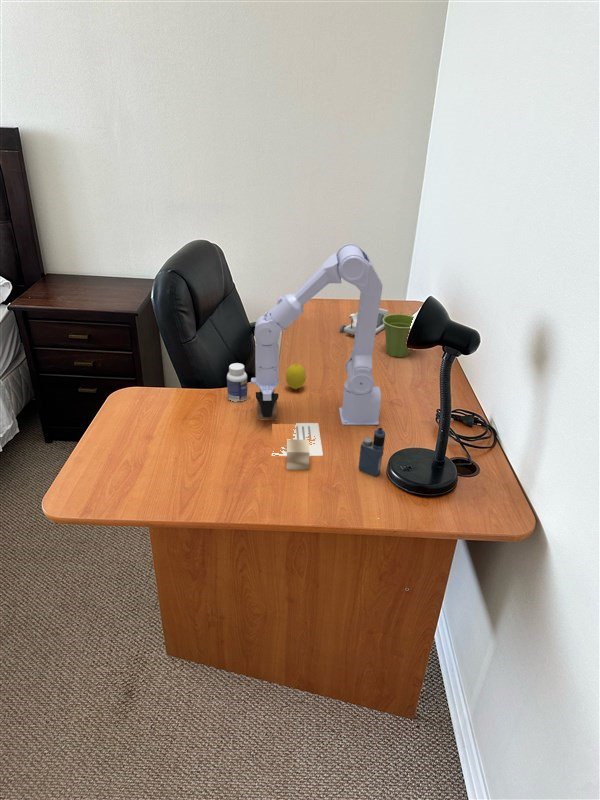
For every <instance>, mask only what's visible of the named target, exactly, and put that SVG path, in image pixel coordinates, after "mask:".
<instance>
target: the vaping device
mask: <svg viewBox="0 0 600 800" xmlns="http://www.w3.org/2000/svg"><path fill="white" fill-rule="evenodd" d="M385 439H386V431H385V430H384V428H382V427H378V428H377V429H376V430H374V433H373V438H371V437H364V438H363V441H362V442H361V444H360V448H359V449H360V450H359V460H358V461H359V462H358V469H359V471H360V472H362V473H364V474H366V475H369V476H372V477H375V478H376V477H378V476H379V475H380V473H381V467H382V460H383V459H382V458H383V455H384V450H385V441H386V440H385Z"/></svg>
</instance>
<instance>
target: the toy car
mask: <svg viewBox="0 0 600 800" xmlns="http://www.w3.org/2000/svg"><path fill="white" fill-rule="evenodd" d="M357 315H358V312H356V313H352V314H350V315H349V317H348V318H349V319H351V320H350V321H351V322H350V324H349V325H345V324H342V325H341V326H340V328H339V333H340V334H343V333H347V334H351V335H354V336H355V330H356V323H357ZM387 315H389V310H387V309H384V308H381V307H379V314H378V320H377V327H376V333H375V335H377V334H378V333H379V332H381V331H382V330H385V328H384V322H383V317H385V316H387Z"/></svg>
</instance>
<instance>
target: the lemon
mask: <svg viewBox="0 0 600 800" xmlns="http://www.w3.org/2000/svg"><path fill="white" fill-rule="evenodd" d="M306 376H307V374H306V371H305V368H304V367H303V366H302V365H300V364H298V363H293V364H291V365H289V367H288V368H287V370H286V373H285V379H286V383H287V385H288V387H290V388H292V389H294V390H298V389H299V388H302V387H303V386H304V385H305V382H306Z"/></svg>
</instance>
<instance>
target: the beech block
mask: <svg viewBox="0 0 600 800" xmlns="http://www.w3.org/2000/svg"><path fill="white" fill-rule="evenodd" d="M309 454H310V451H309V440H295V439H287V456H286V470H287V471H289V470H294V471H295V470H296V471H297V470H298V471H300V470H302V471H308V470H309V469H310V456H309Z"/></svg>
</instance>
